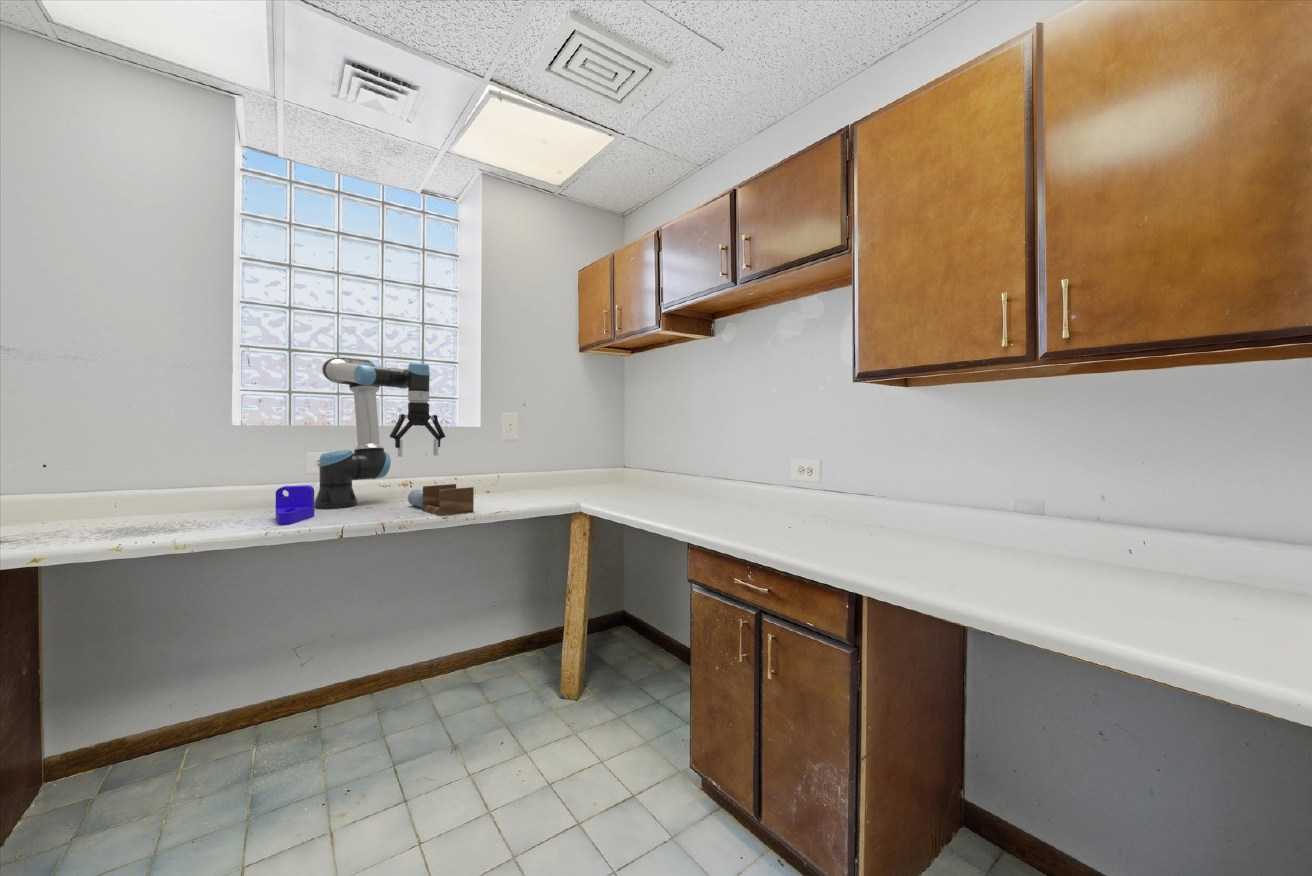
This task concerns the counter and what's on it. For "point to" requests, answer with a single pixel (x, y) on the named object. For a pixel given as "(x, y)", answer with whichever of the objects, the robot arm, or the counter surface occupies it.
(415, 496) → the towel roll
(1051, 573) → the counter surface
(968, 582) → the counter surface
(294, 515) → the bracket
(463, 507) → the cradle
